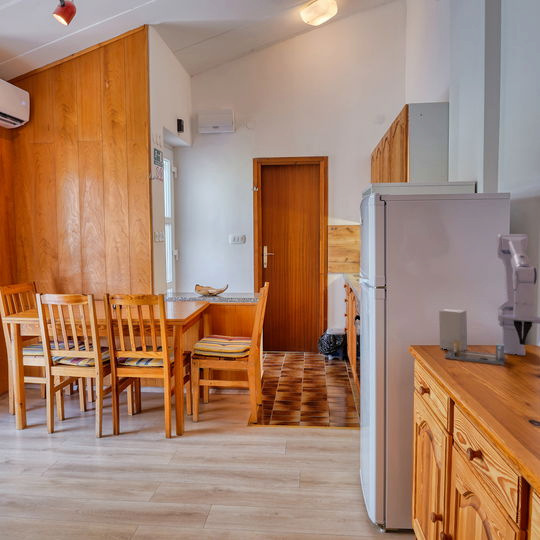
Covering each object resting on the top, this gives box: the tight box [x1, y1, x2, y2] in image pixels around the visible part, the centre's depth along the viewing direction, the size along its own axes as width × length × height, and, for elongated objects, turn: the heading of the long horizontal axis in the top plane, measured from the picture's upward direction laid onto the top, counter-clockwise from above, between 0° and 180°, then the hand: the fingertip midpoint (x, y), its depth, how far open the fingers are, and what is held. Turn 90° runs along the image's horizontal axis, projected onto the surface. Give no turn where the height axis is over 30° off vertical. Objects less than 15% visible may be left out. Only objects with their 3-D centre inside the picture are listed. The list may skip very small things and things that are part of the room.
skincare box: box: [438, 308, 468, 351], centre depth 171 cm, size 8×6×15 cm
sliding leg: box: [495, 342, 505, 359], centre depth 154 cm, size 7×2×4 cm, turn 151°
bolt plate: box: [444, 340, 506, 366], centre depth 158 cm, size 11×18×5 cm, turn 60°
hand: (522, 344), depth 152 cm, fingers closed
